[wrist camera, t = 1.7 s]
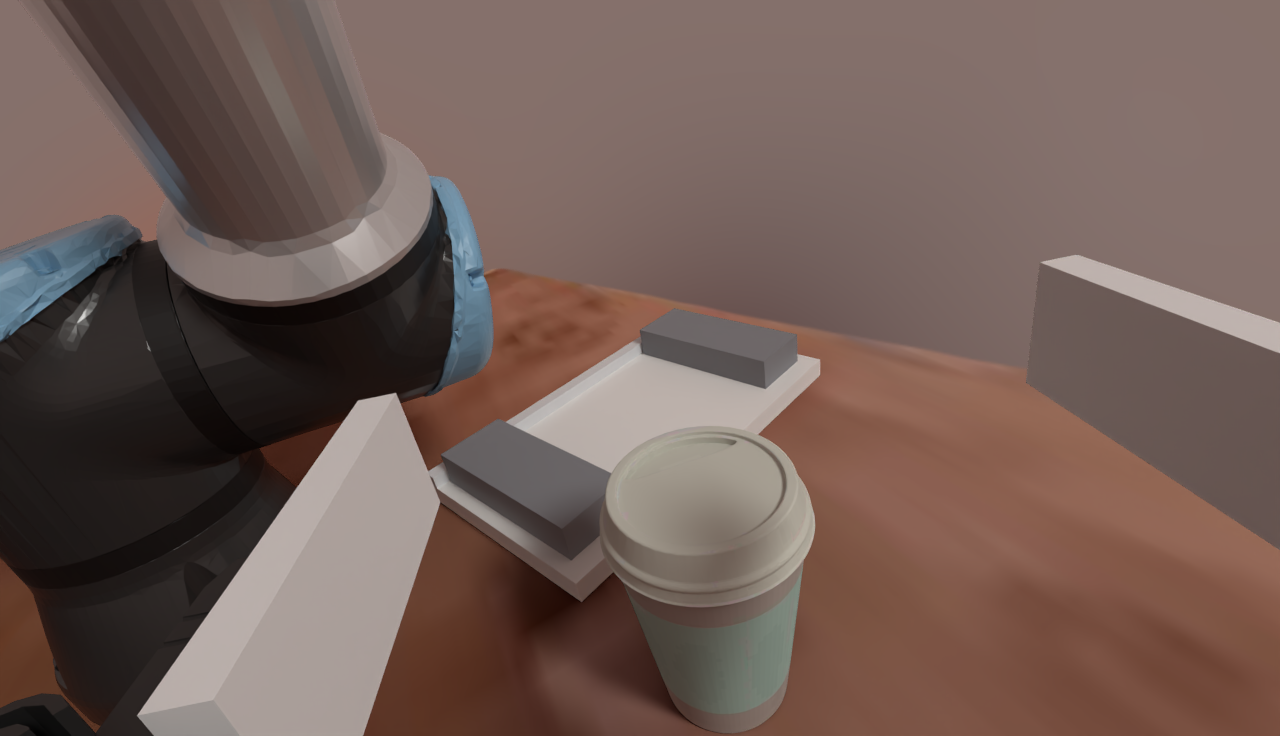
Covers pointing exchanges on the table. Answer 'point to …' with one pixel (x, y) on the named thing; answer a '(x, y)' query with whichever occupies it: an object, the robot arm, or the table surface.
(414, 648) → the table surface
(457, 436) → the table surface
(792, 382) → the rail plate
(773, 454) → the coffee cup
